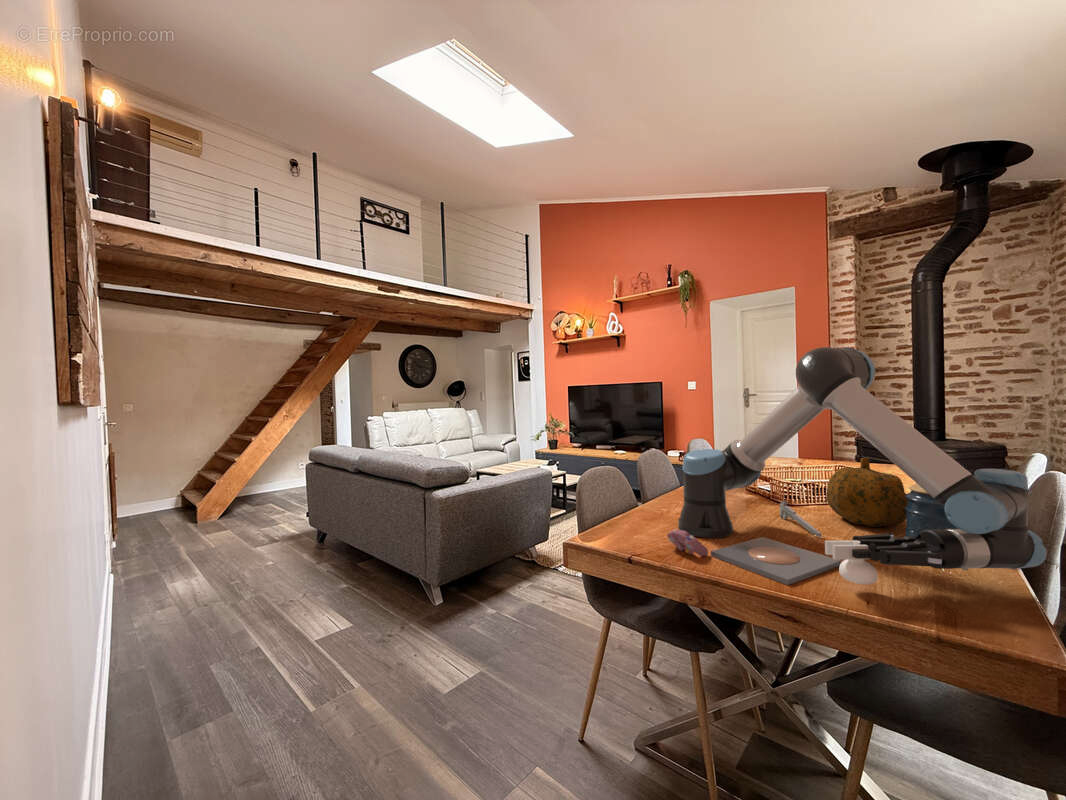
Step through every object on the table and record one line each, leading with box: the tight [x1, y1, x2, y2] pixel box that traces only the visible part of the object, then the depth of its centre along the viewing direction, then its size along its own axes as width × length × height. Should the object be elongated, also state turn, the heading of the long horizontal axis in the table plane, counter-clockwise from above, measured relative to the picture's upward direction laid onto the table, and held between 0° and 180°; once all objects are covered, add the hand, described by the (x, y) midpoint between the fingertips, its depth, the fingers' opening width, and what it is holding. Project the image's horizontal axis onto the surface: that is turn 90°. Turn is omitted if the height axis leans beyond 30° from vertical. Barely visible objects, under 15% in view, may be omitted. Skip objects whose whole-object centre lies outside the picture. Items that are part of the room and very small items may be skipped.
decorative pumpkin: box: [826, 457, 908, 528], centre depth 135 cm, size 20×21×20 cm
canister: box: [905, 482, 958, 538], centre depth 115 cm, size 13×13×18 cm
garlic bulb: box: [838, 541, 878, 585], centre depth 91 cm, size 6×6×8 cm
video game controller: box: [667, 528, 709, 557], centre depth 115 cm, size 10×5×7 cm, turn 24°
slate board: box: [710, 536, 842, 586], centre depth 108 cm, size 20×20×1 cm
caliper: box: [779, 499, 824, 538], centre depth 132 cm, size 20×1×6 cm, turn 0°
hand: (830, 550), depth 91 cm, fingers closed on garlic bulb, 2 cm apart
